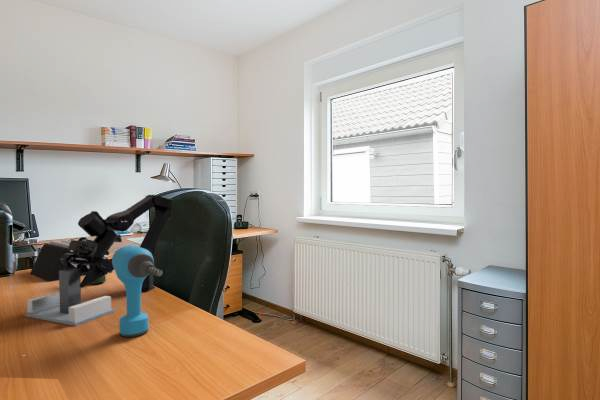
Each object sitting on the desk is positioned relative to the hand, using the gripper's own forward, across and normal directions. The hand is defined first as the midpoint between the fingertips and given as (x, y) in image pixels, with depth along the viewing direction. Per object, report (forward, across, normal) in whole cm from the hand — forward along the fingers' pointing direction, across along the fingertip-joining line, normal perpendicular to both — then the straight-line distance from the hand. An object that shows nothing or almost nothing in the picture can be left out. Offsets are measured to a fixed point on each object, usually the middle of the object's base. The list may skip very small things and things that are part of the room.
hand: (70, 285), depth 109 cm
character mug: (-14, -25, +27) cm, 40 cm away
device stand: (-20, -55, +33) cm, 67 cm away
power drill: (+11, +35, +2) cm, 36 cm away
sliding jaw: (+6, -10, +6) cm, 13 cm away
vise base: (+6, 0, +6) cm, 9 cm away
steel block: (+6, 0, +6) cm, 8 cm away
